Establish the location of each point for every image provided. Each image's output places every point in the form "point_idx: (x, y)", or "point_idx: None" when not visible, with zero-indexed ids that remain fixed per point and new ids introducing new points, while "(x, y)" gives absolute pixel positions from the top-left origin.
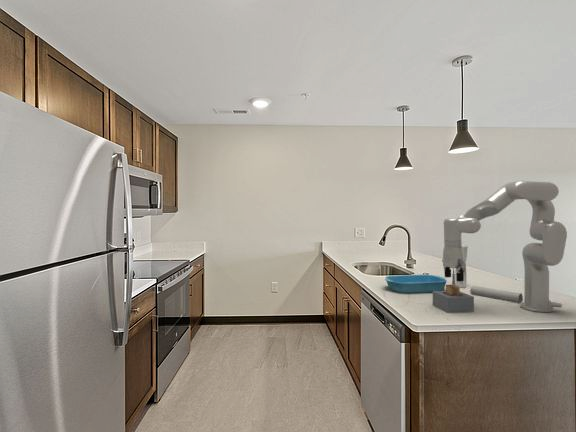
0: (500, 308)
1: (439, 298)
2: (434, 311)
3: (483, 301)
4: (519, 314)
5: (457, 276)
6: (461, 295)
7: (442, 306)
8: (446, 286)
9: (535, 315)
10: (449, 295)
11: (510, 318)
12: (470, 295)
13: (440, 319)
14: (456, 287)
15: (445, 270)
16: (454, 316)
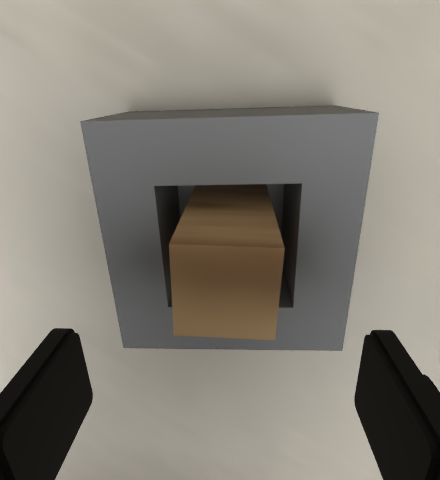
0: (200, 424)
1: (234, 113)
2: (163, 17)
3: (330, 432)
4: (107, 432)
5: (14, 385)
6: (164, 288)
7: (192, 111)
8: (266, 239)
9: (95, 467)
10: (207, 207)
11: None
12: (161, 347)
13: None
14: (174, 300)
15: (426, 437)
16: (44, 109)
